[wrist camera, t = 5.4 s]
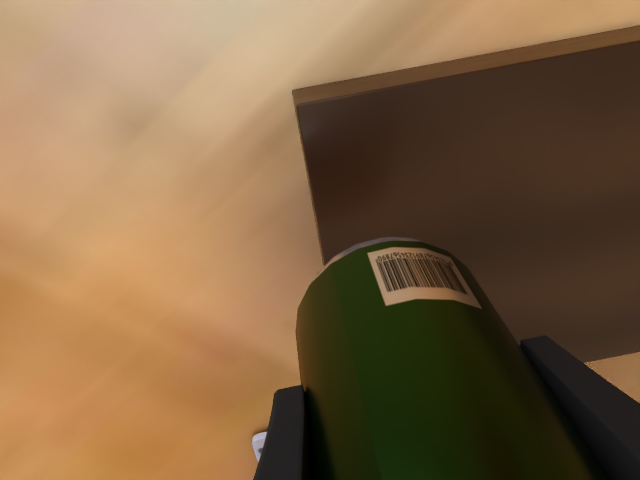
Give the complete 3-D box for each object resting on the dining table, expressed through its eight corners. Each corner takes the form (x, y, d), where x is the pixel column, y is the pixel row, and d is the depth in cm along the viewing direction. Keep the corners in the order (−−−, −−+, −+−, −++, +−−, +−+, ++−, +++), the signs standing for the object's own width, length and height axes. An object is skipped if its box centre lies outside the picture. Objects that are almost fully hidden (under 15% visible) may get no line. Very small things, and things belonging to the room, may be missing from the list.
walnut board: (737, 301, 27) (770, 326, 25) (343, 378, 26) (350, 409, 25) (844, -13, 19) (902, -9, 17) (291, 89, 19) (295, 104, 17)
